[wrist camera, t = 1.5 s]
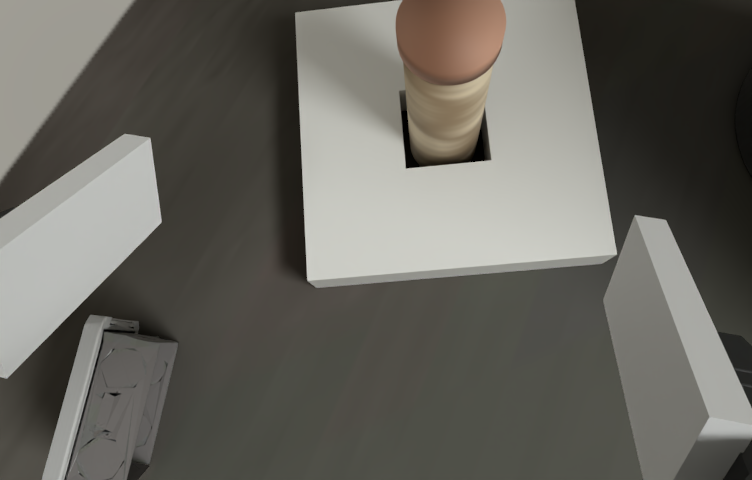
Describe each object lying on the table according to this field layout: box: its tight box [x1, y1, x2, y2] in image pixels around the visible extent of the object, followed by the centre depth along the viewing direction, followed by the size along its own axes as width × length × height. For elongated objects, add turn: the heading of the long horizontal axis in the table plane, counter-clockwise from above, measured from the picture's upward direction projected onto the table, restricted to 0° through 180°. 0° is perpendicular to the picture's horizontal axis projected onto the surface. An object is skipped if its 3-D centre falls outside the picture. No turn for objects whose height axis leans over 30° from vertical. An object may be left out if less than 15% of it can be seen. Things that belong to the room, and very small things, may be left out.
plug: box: [395, 0, 506, 167], centre depth 32 cm, size 5×5×14 cm
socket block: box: [295, 0, 617, 288], centre depth 38 cm, size 18×18×3 cm
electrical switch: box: [42, 315, 179, 480], centre depth 33 cm, size 9×5×9 cm, turn 170°
